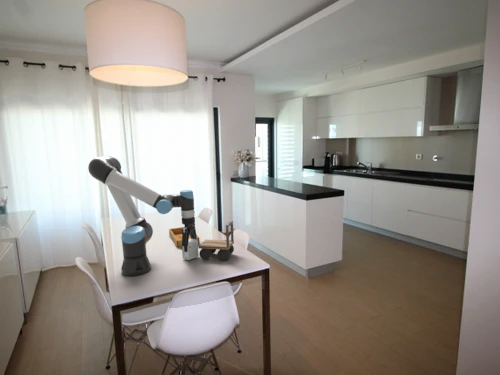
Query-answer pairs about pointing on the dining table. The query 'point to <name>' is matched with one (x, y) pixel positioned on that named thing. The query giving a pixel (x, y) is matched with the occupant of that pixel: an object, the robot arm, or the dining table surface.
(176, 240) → the tray
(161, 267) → the dining table surface
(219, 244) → the trolley
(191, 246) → the small box
